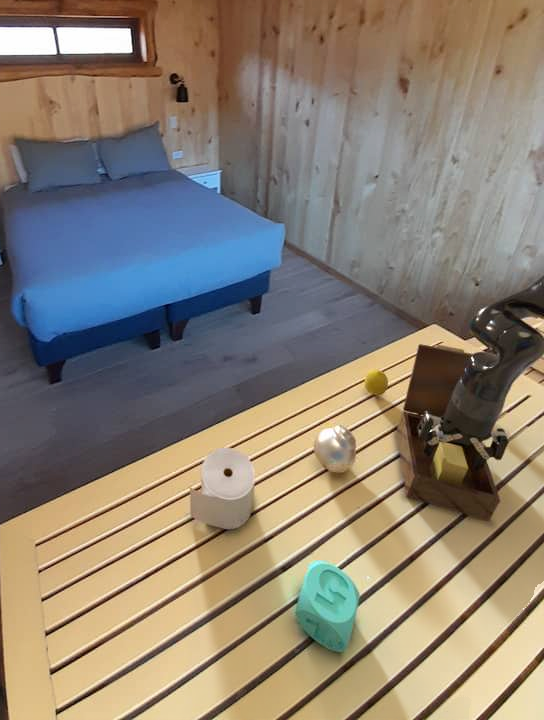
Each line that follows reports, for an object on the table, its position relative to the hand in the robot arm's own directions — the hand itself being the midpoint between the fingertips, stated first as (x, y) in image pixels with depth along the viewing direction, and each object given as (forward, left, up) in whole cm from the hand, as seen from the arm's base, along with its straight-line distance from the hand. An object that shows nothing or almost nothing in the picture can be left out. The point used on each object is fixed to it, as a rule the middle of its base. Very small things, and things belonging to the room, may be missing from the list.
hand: (450, 458), depth 83 cm
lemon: (+12, -22, -8) cm, 26 cm away
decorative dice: (+23, +31, -8) cm, 40 cm away
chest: (0, -3, -8) cm, 9 cm away
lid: (0, -12, +8) cm, 15 cm away
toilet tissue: (+43, +19, -8) cm, 48 cm away
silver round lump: (+22, +2, -8) cm, 24 cm away
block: (0, 0, -7) cm, 7 cm away
